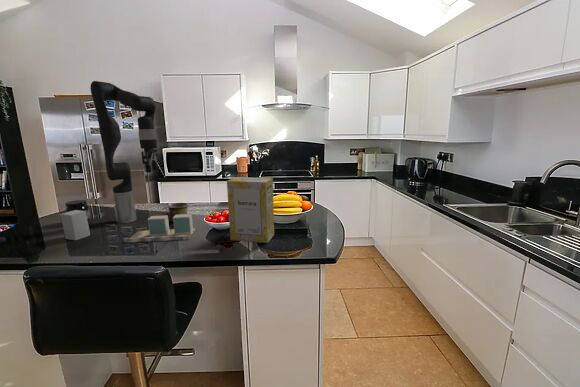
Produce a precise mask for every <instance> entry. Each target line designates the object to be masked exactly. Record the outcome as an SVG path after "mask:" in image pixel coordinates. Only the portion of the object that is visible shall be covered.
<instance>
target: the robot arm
mask: <svg viewBox="0 0 580 387" xmlns="http://www.w3.org/2000/svg"><path fill="white" fill-rule="evenodd" d="M90 94H91V99H92V101H93V105H94V108H95V112H96V117H97V122H98V128H99V129H98V130H99V134H100V140H101V142H102V143H101V144H102V147H103V153H104V161H105V170H106V174H107V177H108V180H110V181H118V180H119V181H120V180H122V181H121V182H120V183H119V184H117V185H115V186H113V187H112V192H113V197H114V198H113V199H114V204H115V205H114V206H113V210H114V214H115V215H114V216H115V222H116V223H118V224H127V223H132V222H135V221H137V211H136V207H135V198H134V193H133V192H134V191H133V184H132V174H131V173H132V172H131V167H130V165H129V162H127V161H126V162H124V161H123V162H114V156H115V153H116V150H117V148H118V146H119V145H120V143H121V140H122V134H121V133H122V132H121V129H120V125H119V123H118V122H117V121H116V118H114V117H113V115H112V114H111V113H110V112H109V110H108V108H107V106H106V105H107V104H106V103H105V102H119V103H120V104H122V105H124V106H126V107H129V108H130V109H132V110H133V111H136V112H142V113H143V112H144V115H143V116H140V117H137V126H138V140H139V145H140V149H142V150H144V151H141V160H142V165H144V166H145V167H144V168H145V172H146V173H151V172H152V171H157V170H158V161H159V156H158V150H157V148H158V143H157V142H158V141H157V133H156V129H155V120H154V119H155V115H156V114H155V113H156V108H157V105H156V101H155V100H154V98H153V97H151V96H143V95H142V96H141V95H138V94H136V93H133V92H131V91H129V90H124V89H122V88H120V87H118V86H116V85H115V84H113V83H110V82H107V81H106V82H105V81H98V80H94V81H92V82H91V83H90Z"/></svg>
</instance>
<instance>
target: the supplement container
mask: <svg viewBox="0 0 580 387" xmlns="http://www.w3.org/2000/svg"><path fill="white" fill-rule="evenodd" d="M87 202H88V201H87V200H86V199H76V200H71V201H67V202H65V213H67V212H70V211H74V210H79V211H86V216H87V221H88V223H89V222H91V220H92V218H91V213H90V206H89V205H88V203H87Z"/></svg>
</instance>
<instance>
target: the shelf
mask: <svg viewBox="0 0 580 387" xmlns="http://www.w3.org/2000/svg"><path fill="white" fill-rule="evenodd" d="M196 229H197V228H196V227H193V233H194V232H195V230H196ZM169 230H170V233H169V235H168V236H162V237H150V232H149V229H148V230H138V231H136V232H135V233H134V234H132V235H131V236H130V237H129V238H128V237H126V238H123V240H124V241H123V242H124V243H125V244H126V243H128V244H129V243H144V242H146V243H148V242H165V241H166V242H167V241H183V240H185V241H186V240H187V241H188V240H190V238H191V237H192V235H193V233H192V234H191V235H178V236H175V232H174V228H171V229H170V228H169Z"/></svg>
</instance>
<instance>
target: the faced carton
mask: <svg viewBox="0 0 580 387" xmlns="http://www.w3.org/2000/svg"><path fill="white" fill-rule="evenodd" d="M172 223H173V229H174V232H175V236H178V235H191V234H192V233H194V232H193V228H194V225H193V224H194V223H193V216H192V213H187V214H180V215H175V216H174V217H173V220H172ZM192 235H193V234H192ZM192 235H191V236H192Z"/></svg>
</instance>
